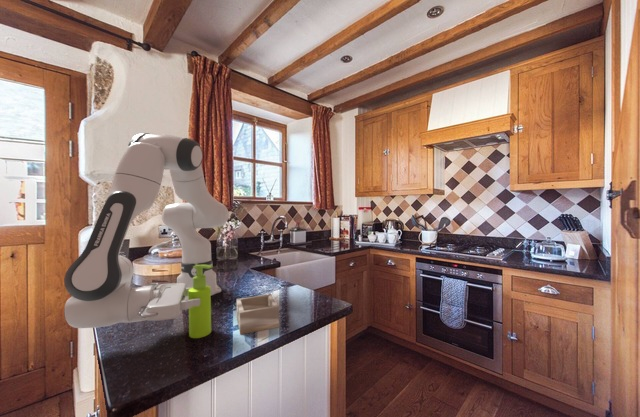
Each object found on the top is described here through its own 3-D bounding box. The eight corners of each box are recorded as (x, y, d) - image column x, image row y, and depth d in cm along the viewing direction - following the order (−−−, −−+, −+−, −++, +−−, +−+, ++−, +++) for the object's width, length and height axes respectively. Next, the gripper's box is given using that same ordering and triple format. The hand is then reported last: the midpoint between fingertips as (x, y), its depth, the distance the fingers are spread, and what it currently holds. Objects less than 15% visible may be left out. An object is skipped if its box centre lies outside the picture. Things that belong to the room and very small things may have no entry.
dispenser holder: (236, 317, 86) (236, 299, 86) (270, 311, 91) (270, 294, 91) (240, 334, 75) (240, 312, 75) (279, 326, 79) (278, 306, 79)
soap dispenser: (206, 339, 72) (205, 267, 72) (184, 337, 74) (183, 266, 73) (218, 329, 78) (217, 263, 78) (198, 327, 79) (197, 262, 79)
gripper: (134, 304, 61) (199, 296, 66) (153, 281, 80) (202, 276, 85) (134, 331, 61) (199, 321, 66) (153, 302, 80) (202, 295, 85)
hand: (201, 295), depth 76 cm, fingers open, 8 cm apart
